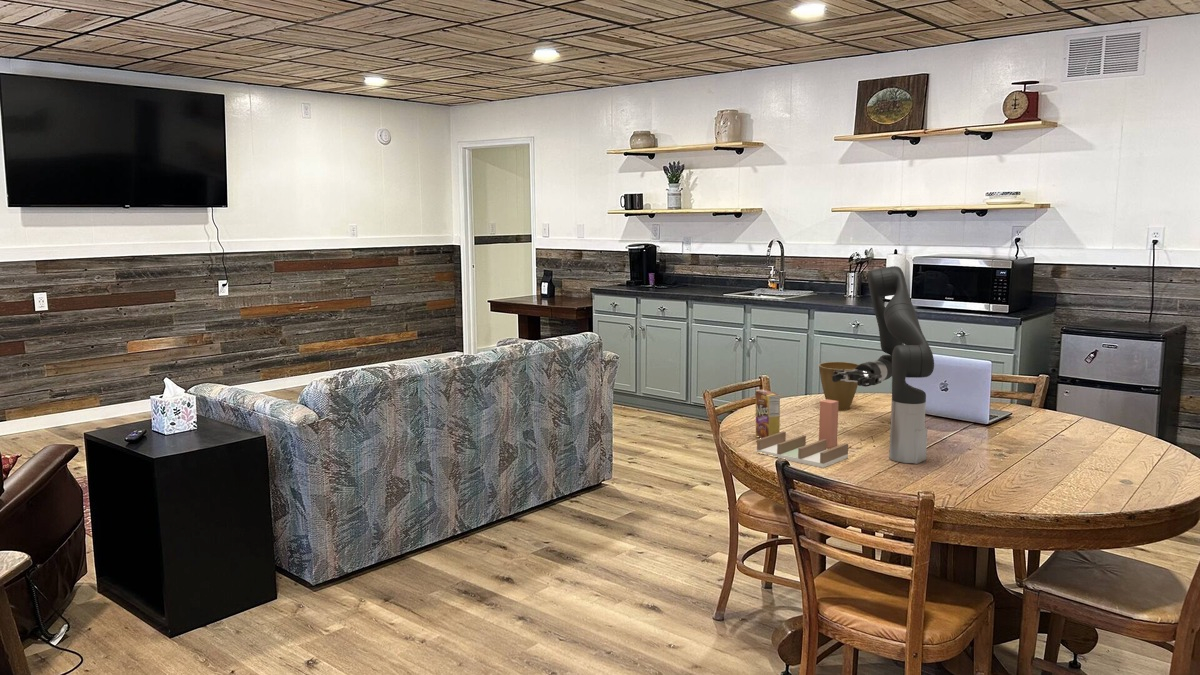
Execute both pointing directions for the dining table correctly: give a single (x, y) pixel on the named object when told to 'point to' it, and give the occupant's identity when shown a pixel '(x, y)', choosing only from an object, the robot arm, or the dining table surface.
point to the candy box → (767, 413)
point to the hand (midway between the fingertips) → (846, 380)
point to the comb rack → (802, 450)
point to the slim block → (828, 422)
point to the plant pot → (838, 384)
